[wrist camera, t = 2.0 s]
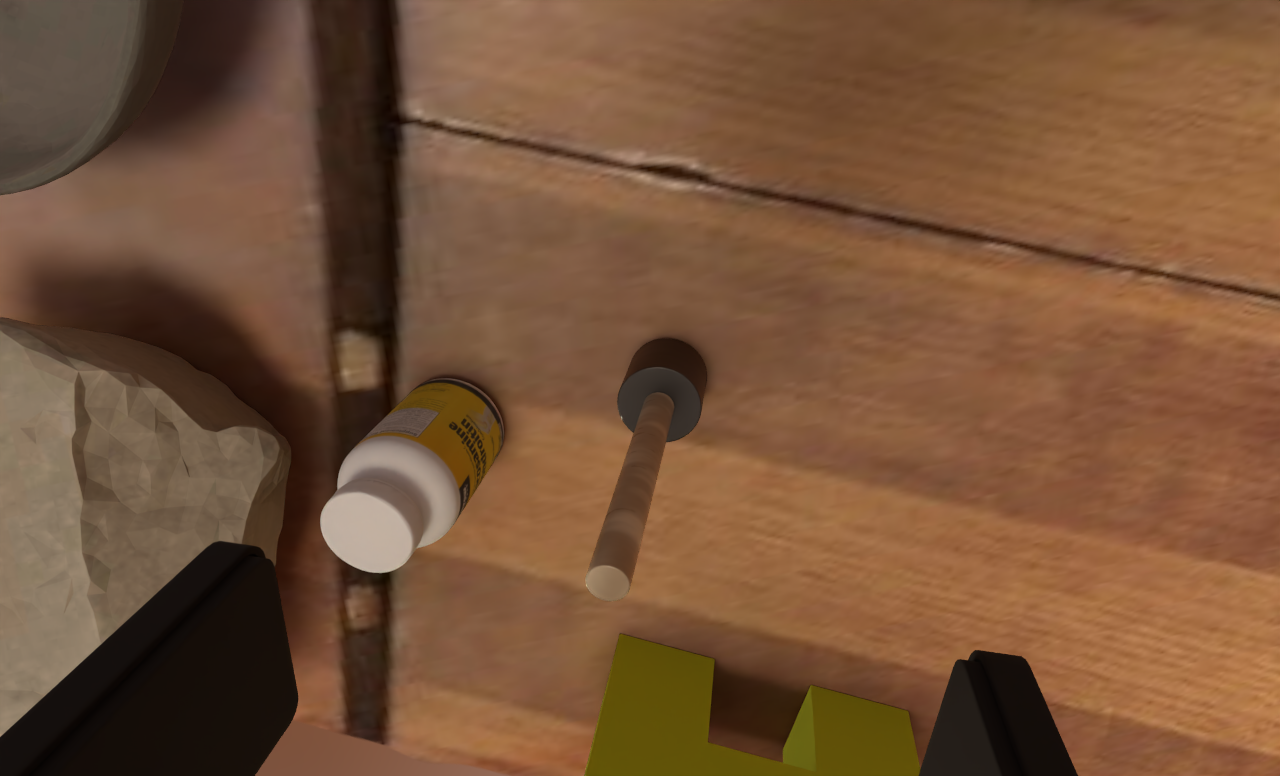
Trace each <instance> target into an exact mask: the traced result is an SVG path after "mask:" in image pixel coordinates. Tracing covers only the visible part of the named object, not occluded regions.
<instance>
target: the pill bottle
mask: <svg viewBox="0 0 1280 776" xmlns="http://www.w3.org/2000/svg"><path fill="white" fill-rule="evenodd" d="M503 439H504V427H503V422H502V418H501V416H500V413H499V411H498V409H497V407H496V406H495V404H494V403H493V402H492V400H491V399H490V398H489V397H488V396H487V395H486V394H485V393H484V392H482V391H481V390H480V389H478V388H477V387H475V386H473V385H471V384H469V383H467V382H464V381H461V380H457V379H451V378H440V379H434V380H430V381H427V382H425V383H423V384H421V385H419V386H418V387H416V388H415V389H414V390H413V391H412V392H410V393H409V394H408V395H407V396H406V397H405V398H404V399H403V400H402V401H401V402H400V403H399V404H398V405H397V406H396V407H395V408H394V409H393V410H392V411H391V412H390V413H389V414H388V415H387V416H386V417H385V418H384V419H383V420H382V421H381V422H380V423H379V424H378V425H377V426H376V427H375V428H374V429H373V430H372V431H371V432H370V433H369V434H368V435H367V436H366V437H365V438H364V439H363V440H362V441H361V442H360V443H359V444H358V445H357V446H356V447H355V448H354V449H353V450H352V451H351V452H350V453H349V454H348V455H347V457H346V458H345V460H344V462H343V464H342V466H341V468H340V471H339V475H338V484H337V487H338V490H337V491H336V492H335V494H334V495H333V496H332V497H331V498H330V500H329V501H328V502H327V503H326V505H325V506H324V508H323V510H322V513H321V518H320V526H321V531H322V534H323V537H324V539H325V541H326V543H327V544H328V546H329V547H330V548H331V550H332V551H333V552H334V553H335V554H336V555H337V556H338V557H339V558H341V559H342V560H343V561H345V562H346V563H348V564H350V565H352V566H354V567H356V568H358V569H360V570H363V571H367V572H375V573H383V572H389V571H393V570H395V569H397V568H399V567H401V566H402V565H403V564H405V563H406V562H407V560H408V559H409V558H410V557H411V555H412V554H413V553H414V551H415V550H416V549H417V548H420V547H424V546H427V545H429V544H432V543H434V542H436V541H437V540H439V539H440V538H442V537H443V536H444V535H445V534H446V533H447V532H448V531H449V530H450V529H451V527H452V526H453V525H454V523H455V522H456V520H457V518H458V517H459V515H460V514H461V512H462V511H463V509H464V508H465V506H466V505H467V503H468V502H469V500H470V498H471V497H472V495H473V494H474V492H475V491H476V489H477V488H478V486H479V484H480V483H481V481H482V480H483V478H484V477H485V475H486V473H487V472H488V470H489V469H490V467H491V466H492V464H493V462H494V461H495V459H496V458H497V456H498V454H499V452H500V450H501V447H502V444H503Z"/></svg>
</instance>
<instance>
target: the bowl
mask: <svg viewBox="0 0 1280 776" xmlns="http://www.w3.org/2000/svg"><path fill="white" fill-rule="evenodd" d="M183 2H184V0H0V195H5V194H12V193H16V192H21V191H25V190H29V189H33V188H36V187H39V186H42V185H45V184H47V183H49V182H52V181H54V180H56V179H58V178H60V177H63V176H65V175H67V174H69V173H70V172H72V171H73V170H75V169H77V168H78V167H80V166H82V165H83V164H85V163H86V162H88V161H89V160H91V159H92V158H93V157H95V156H96V155H97V154H99V153H100V152H101V151H103V150H104V149H105V148H107V147H108V146H109V145H111V144H112V143H113V142H115V141H116V140H117V139H118V138H119V137H120V136H121V135H122V134H123V133H124V132H125V131H126V130H127V129H128V128H129V126H130V125H131V124H132V123H133V122H134V121H135V120H136V119H137V118H138V116H139V115H140V114H141V112H142V111H143V110H144V108H145V107H146V105H147V103H148V102H149V100H150V99H151V97H152V95H153V94H154V92H155V90H156V88H157V86H158V84H159V82H160V80H161V77H162V75H163V73H164V70H165V68H166V65H167V62H168V60H169V57H170V54H171V52H172V49H173V46H174V43H175V39H176V35H177V31H178V27H179V23H180V19H181V14H182V9H183Z"/></svg>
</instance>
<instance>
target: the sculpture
mask: <svg viewBox="0 0 1280 776" xmlns="http://www.w3.org/2000/svg"><path fill="white" fill-rule="evenodd" d="M290 464H291V447H290V445H289V444H288V442H287V440H286V438H285V437H284V436H282V435H280V434H279V433H278V432H277V430H276V429H275V428H274V427H273V426H272V425H271V424H270V423H269V422H268V421H267V420H266V419H264V418H263V417H262V416H261V415H260V414H259V413H258V412H257V411H256V410H254V409H253V408H251V407H249V406H248V405H246V404H245V403H244V402H242V401H241V400H240V399H238V398H237V397H236V396H235V395H234V394H233V392H232V391H231V390H230V389H229V388H228V386H227V385H225V384H224V383H222V382H221V381H219V380H218V379H217V378H215V377H214V376H212V375H211V374H208V373H205V372H202V371H199V370H196V369H195V368H194V367H193V366H192V365H191V364H190V363H188V362H187V361H186V360H184V359H183V358H181V357H179V356H177V355H175V354H173V353H170V352H168V351H166V350H164V349H161V348H159V347H156V346H153V345H150V344H147V343H144V342H140V341H137V340H133V339H130V338H126V337H122V336H118V335H114V334H110V333H105V332H94V331H88V330H82V329H77V328H69V327H56V326H43V325H32V324H29V323H25V322H21V321H17V320H13V319H9V318H1V317H0V737H1V736H2V735H3V734H4V733H5V732H6V731H7V730H8V729H9V728H10V727H12V726H13V725H14V724H15V723H16V722H17V721H18V720H19V719H20V718H21V717H22V716H23V715H25V714H26V713H27V712H28V711H29V710H30V709H31V708H32V707H33V706H34V705H35V704H37V703H38V702H39V701H40V700H41V699H42V698H43V697H44V696H45V695H46V694H47V693H49V692H50V691H51V690H52V689H53V688H54V687H55V686H56V685H57V684H58V683H59V682H60V681H62V680H63V679H64V678H65V677H66V676H67V675H68V674H69V673H70V672H71V671H72V670H74V669H75V668H76V667H77V666H78V665H79V664H80V663H81V662H82V661H83V660H84V659H86V658H87V657H88V656H89V655H90V654H91V653H92V652H93V651H94V650H95V649H96V648H97V647H99V646H100V645H101V644H102V643H103V642H104V641H105V640H106V639H107V638H108V637H109V636H111V635H112V634H113V633H114V632H115V631H116V630H117V629H118V628H119V627H120V626H121V625H123V624H124V623H125V622H126V621H127V620H128V619H129V618H130V617H131V616H132V615H133V614H134V613H136V612H137V611H138V610H139V609H140V608H141V607H142V606H143V605H144V604H145V603H146V602H148V601H149V600H150V599H151V598H152V597H153V596H154V595H155V594H156V593H157V592H158V591H160V590H161V589H162V588H163V587H164V586H165V585H166V584H167V583H168V582H169V581H170V580H172V579H173V578H174V577H175V576H176V575H177V574H178V573H179V572H180V571H181V570H182V569H183V568H185V567H186V566H187V565H188V564H189V563H190V562H191V561H192V560H193V559H194V558H195V557H197V556H198V555H199V554H200V553H201V552H202V551H203V550H204V549H205V548H206V547H208V546H209V545H210V544H212V543H213V542H217V541H225V542H232V543H238V544H245V545H252V546H257V547H260V548H261V549H262V550H263V551H264V554H265V557H266V558H267V559H270V560H271V561H272V562H273V564H274V567H275V565H276V552H277V544H278V538H279V535H280V532H281V529H282V525H283V515H284V504H285V493H286V483H287V477H288V472H289V468H290Z"/></svg>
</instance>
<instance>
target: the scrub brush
mask: <svg viewBox="0 0 1280 776" xmlns="http://www.w3.org/2000/svg"><path fill="white" fill-rule="evenodd" d="M706 381H707V371H706V366H705V363H704V361H703V359H702V358H701V356H700V355H699V353H698V352H697V351H696V350H695V349H694V348H692V347H691V346H690V345H688V344H686V343H684V342H682V341H679V340H675V339H657V340H653V341H651V342H649V343H647V344H645V345H644V346H642V347H641V348H640V349H639V350H638V351H637V352H636V354H635V355H634V357H633V359H632V361H631V363H630V366H629V368H628V371H627V373H626V376H625V378H624V380H623V383H622V385H621V388H620V390H619V394H618V401H617V404H618V410H619V414H620V416H621V418H622V420H623V422H624V423H625V425H626V426H627V427H628V428H629V429H630V430H631V431H632V432H633V433H634V434H633V437H632V440H631V443H630V446H629V449H628V452H627V455H626V458H625V461H624V464H623V467H622V470H621V473H620V476H619V479H618V482H617V485H616V488H615V491H614V494H613V497H612V500H611V503H610V506H609V509H608V512H607V515H606V518H605V521H604V524H603V527H602V530H601V533H600V536H599V539H598V542H597V545H596V548H595V551H594V554H593V557H592V560H591V563H590V566H589V569H588V572H587V575H586V585H587V588H588V590H589V591H590V592H591V593H592V594H593V595H594V596H595V597H597V598H599V599H601V600H605V601H617V600H620V599H622V598H623V597H625V596H626V595H627V594H628V592H629V590H630V586H631V582H632V578H633V574H634V570H635V565H636V561H637V557H638V553H639V549H640V545H641V541H642V537H643V533H644V529H645V525H646V521H647V517H648V513H649V509H650V505H651V501H652V497H653V492H654V488H655V484H656V480H657V476H658V472H659V468H660V464H661V460H662V456H663V452H664V448H665V444H666V442H671V441H675V440H678V439H680V438H682V437H684V436H686V435H687V434H689V433H690V432H691V431H692V430H693V429H694V427H695V426H696V424H697V423H698V421H699V418H700V415H701V410H702V404H703V398H704V393H705V387H706Z"/></svg>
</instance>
